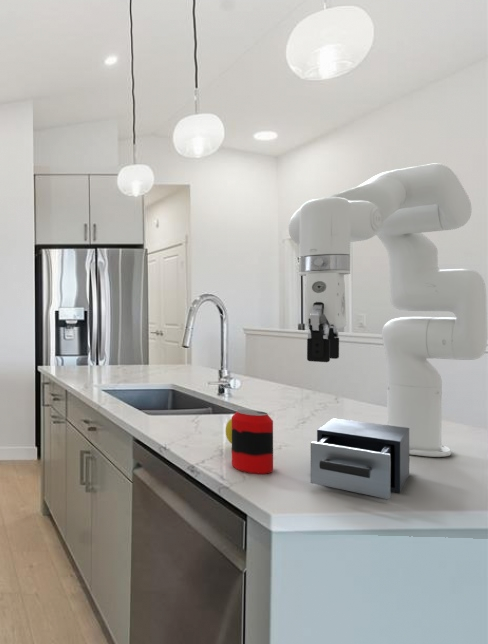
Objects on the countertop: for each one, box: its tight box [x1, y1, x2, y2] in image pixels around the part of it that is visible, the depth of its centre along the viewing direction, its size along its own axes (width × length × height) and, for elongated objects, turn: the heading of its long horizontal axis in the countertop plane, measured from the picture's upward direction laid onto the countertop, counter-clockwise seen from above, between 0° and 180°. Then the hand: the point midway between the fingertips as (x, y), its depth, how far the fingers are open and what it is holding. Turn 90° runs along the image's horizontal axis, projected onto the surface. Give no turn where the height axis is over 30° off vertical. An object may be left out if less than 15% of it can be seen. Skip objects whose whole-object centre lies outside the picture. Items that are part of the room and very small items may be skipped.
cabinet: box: [316, 417, 410, 494], centre depth 102 cm, size 15×13×10 cm
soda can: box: [231, 409, 274, 475], centre depth 107 cm, size 8×8×12 cm
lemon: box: [225, 418, 232, 445], centre depth 122 cm, size 6×6×8 cm
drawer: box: [310, 435, 395, 500], centre depth 95 cm, size 18×11×8 cm, turn 132°
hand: (323, 359), depth 92 cm, fingers open, 9 cm apart
